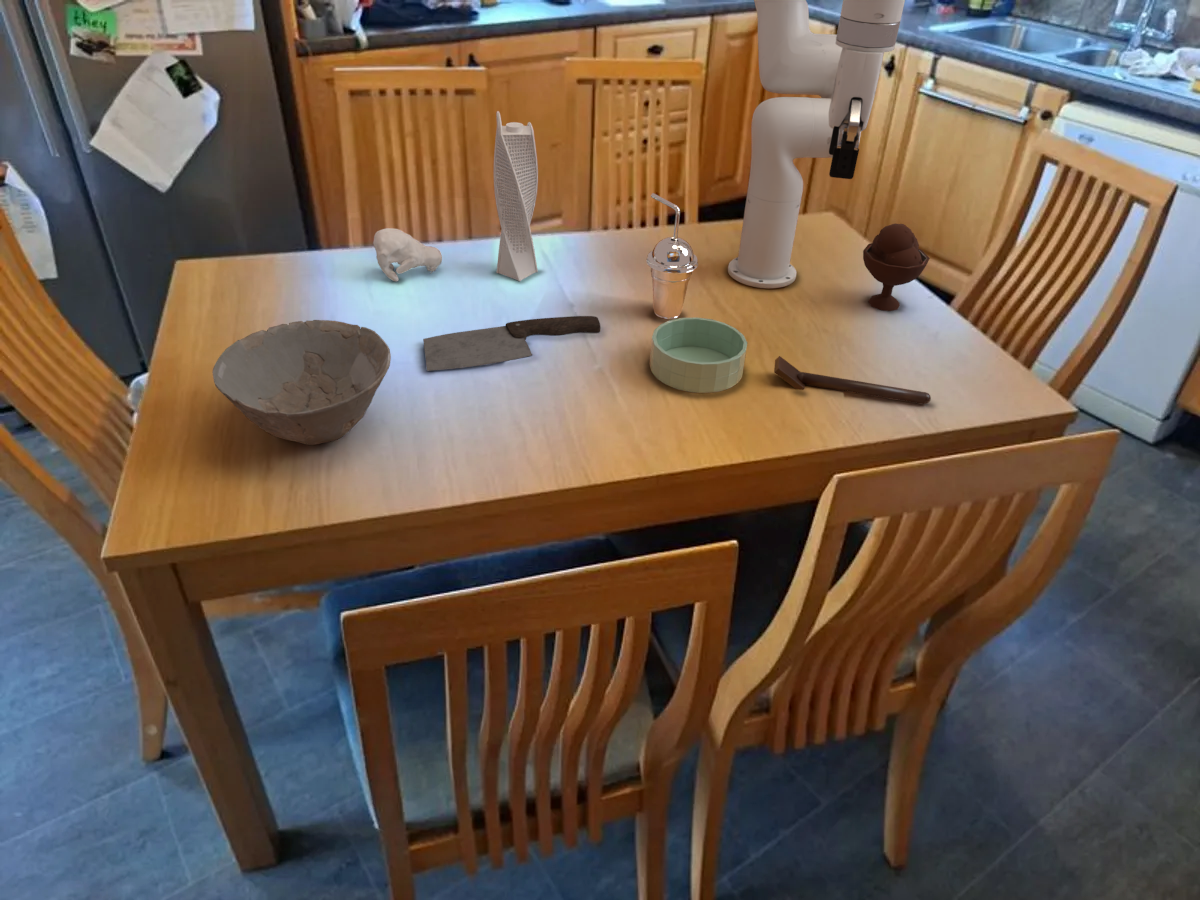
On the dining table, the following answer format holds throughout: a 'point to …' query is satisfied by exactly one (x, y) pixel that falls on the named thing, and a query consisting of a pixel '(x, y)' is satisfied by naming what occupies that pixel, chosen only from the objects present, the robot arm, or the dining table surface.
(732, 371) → the bowl
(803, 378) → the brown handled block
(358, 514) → the dining table surface
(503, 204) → the skyscraper
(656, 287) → the cup with straw
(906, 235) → the ice cream bowl
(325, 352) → the ceramic bowl
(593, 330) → the cleaver
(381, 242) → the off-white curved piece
